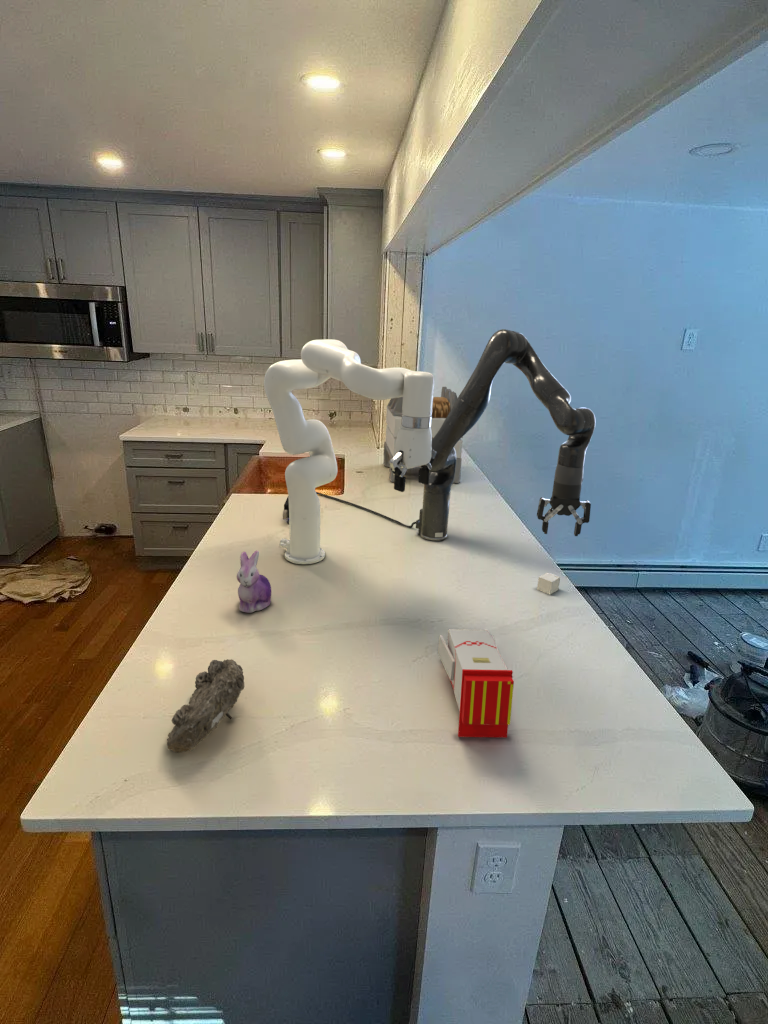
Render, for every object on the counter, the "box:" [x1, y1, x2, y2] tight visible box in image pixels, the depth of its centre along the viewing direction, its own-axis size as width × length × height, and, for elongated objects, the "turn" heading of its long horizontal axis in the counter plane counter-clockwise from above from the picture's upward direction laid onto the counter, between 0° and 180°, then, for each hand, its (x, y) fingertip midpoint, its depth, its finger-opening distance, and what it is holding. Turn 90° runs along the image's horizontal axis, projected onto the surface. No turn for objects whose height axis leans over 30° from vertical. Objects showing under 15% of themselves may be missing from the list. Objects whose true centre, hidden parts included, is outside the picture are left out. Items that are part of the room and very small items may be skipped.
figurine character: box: [282, 496, 289, 524], centre depth 208 cm, size 7×8×15 cm
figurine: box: [236, 550, 272, 614], centre depth 146 cm, size 9×10×15 cm
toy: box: [437, 628, 515, 738], centre depth 117 cm, size 12×13×30 cm
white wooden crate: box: [383, 386, 464, 484], centre depth 268 cm, size 34×33×41 cm
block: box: [536, 572, 561, 596], centre depth 164 cm, size 4×5×4 cm
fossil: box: [166, 658, 245, 754], centre depth 106 cm, size 22×10×15 cm
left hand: (411, 486), depth 148 cm, fingers open, 9 cm apart
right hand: (560, 534), depth 163 cm, fingers open, 8 cm apart
